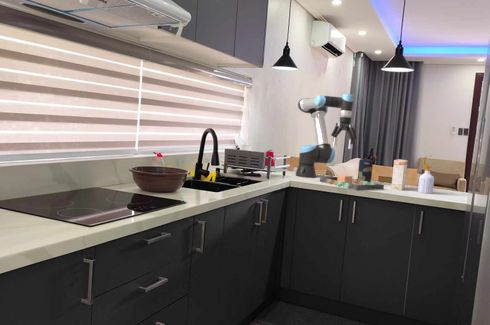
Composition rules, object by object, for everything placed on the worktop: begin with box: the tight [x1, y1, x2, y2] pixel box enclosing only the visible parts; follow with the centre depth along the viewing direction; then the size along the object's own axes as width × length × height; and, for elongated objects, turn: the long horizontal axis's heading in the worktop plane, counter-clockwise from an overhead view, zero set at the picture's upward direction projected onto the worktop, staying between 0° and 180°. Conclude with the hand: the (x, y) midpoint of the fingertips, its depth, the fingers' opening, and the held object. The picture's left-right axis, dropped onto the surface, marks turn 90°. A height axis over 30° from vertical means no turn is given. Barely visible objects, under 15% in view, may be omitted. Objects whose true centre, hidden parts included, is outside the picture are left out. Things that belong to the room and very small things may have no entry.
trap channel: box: [319, 176, 385, 191], centre depth 289 cm, size 34×24×3 cm
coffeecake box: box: [390, 158, 409, 191], centre depth 290 cm, size 15×7×20 cm, turn 152°
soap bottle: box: [417, 155, 435, 195], centre depth 280 cm, size 9×9×25 cm
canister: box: [357, 157, 374, 182], centre depth 309 cm, size 10×10×18 cm
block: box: [337, 174, 354, 184], centre depth 294 cm, size 7×7×6 cm
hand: (342, 147), depth 298 cm, fingers open, 13 cm apart
